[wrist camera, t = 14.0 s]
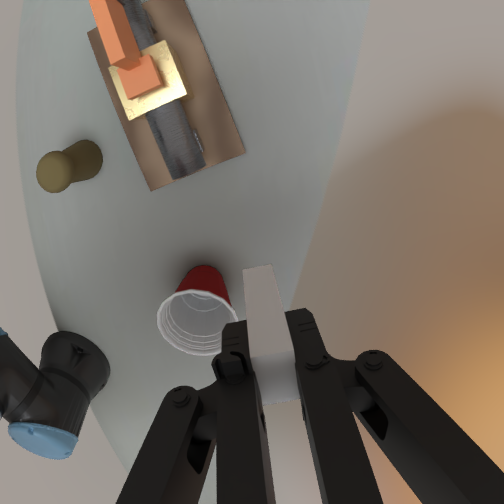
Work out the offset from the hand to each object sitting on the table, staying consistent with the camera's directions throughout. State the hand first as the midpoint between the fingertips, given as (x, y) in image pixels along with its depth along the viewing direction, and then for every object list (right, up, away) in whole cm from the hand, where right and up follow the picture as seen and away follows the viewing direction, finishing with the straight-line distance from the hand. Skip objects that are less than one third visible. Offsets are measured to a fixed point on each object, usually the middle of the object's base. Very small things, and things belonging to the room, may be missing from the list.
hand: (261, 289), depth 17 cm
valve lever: (-14, +26, +10) cm, 31 cm away
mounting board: (-12, +24, +22) cm, 35 cm away
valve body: (-12, +24, +20) cm, 34 cm away
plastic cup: (-8, -3, +34) cm, 35 cm away
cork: (-25, +16, +25) cm, 39 cm away
